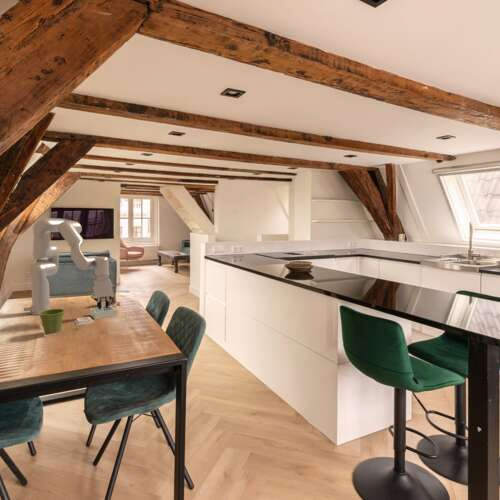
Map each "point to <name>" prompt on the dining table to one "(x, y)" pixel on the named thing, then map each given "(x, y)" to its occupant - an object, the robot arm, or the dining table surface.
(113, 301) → the multimeter
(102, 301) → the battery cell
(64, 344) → the dining table surface
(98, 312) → the white open box
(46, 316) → the plant pot
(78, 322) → the checker cradle
